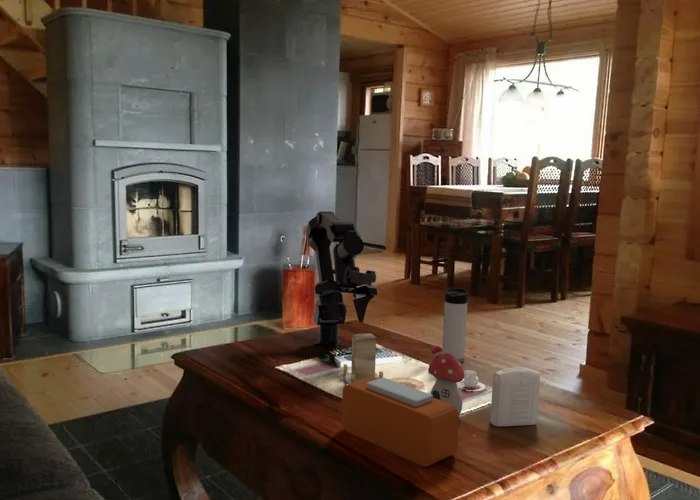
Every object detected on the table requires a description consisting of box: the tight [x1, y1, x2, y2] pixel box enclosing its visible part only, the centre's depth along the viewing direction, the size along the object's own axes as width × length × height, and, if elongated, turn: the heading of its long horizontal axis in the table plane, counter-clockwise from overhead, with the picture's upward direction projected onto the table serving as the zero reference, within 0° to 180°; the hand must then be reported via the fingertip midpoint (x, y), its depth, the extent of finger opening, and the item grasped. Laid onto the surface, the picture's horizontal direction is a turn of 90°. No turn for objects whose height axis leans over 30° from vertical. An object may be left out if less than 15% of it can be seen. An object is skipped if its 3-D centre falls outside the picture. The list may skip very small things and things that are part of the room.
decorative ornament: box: [428, 345, 465, 416], centre depth 146 cm, size 9×6×15 cm
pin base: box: [340, 363, 384, 385], centre depth 167 cm, size 9×9×3 cm
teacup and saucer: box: [463, 369, 486, 393], centre depth 166 cm, size 9×8×4 cm
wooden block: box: [350, 332, 378, 382], centre depth 167 cm, size 4×5×11 cm
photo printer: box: [489, 366, 541, 427], centre depth 143 cm, size 10×4×12 cm, turn 103°
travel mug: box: [441, 287, 468, 363], centre depth 187 cm, size 6×7×20 cm
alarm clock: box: [341, 377, 460, 468], centre depth 132 cm, size 24×8×11 cm, turn 44°
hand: (349, 321), depth 178 cm, fingers open, 9 cm apart
